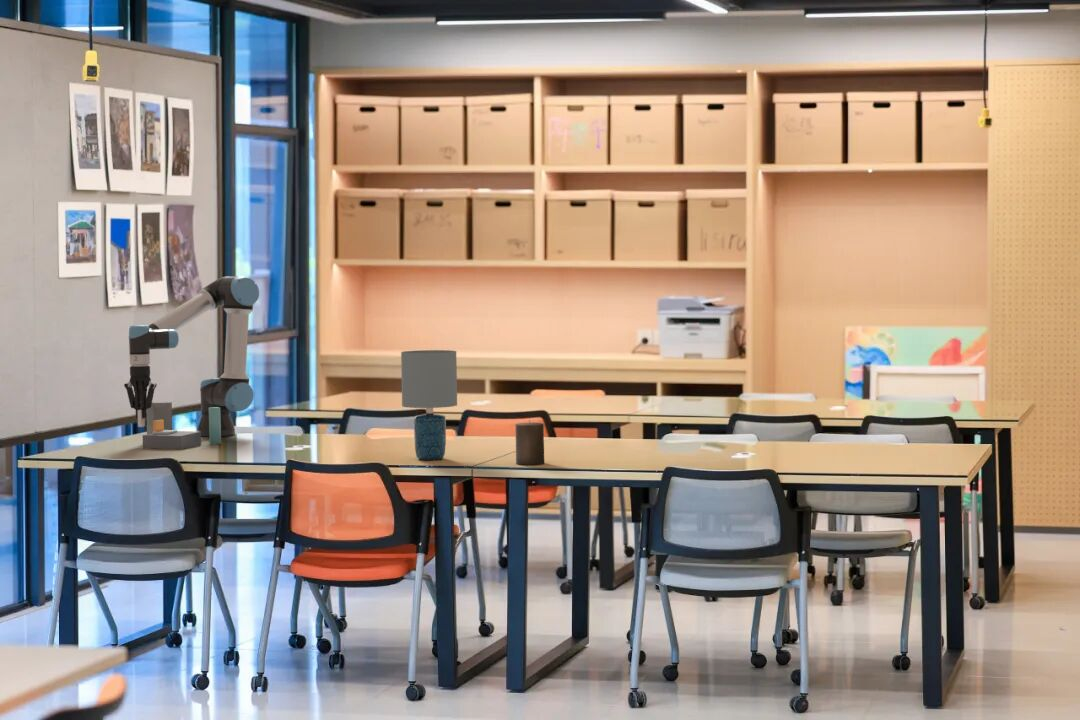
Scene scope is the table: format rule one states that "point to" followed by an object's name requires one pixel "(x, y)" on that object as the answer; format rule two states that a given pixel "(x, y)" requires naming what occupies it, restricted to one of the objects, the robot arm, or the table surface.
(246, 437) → the table surface
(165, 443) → the socket
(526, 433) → the pillar candle
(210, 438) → the plug peg
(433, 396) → the lamp
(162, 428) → the shutter
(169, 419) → the skincare box
